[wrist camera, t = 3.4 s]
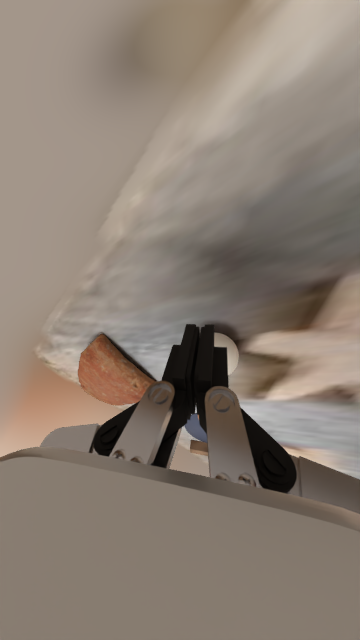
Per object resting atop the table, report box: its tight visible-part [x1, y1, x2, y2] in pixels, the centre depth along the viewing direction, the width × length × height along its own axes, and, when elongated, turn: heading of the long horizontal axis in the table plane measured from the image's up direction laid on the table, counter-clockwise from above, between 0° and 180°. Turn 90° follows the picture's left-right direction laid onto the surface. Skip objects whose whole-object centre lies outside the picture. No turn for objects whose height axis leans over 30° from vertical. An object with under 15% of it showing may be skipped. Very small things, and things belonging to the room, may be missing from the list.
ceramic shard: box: [78, 334, 156, 405], centre depth 35 cm, size 15×6×15 cm
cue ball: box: [214, 333, 239, 376], centre depth 24 cm, size 6×6×6 cm
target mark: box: [185, 413, 207, 443], centre depth 40 cm, size 14×14×1 cm
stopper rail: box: [190, 440, 208, 456], centre depth 44 cm, size 12×2×2 cm, turn 96°
